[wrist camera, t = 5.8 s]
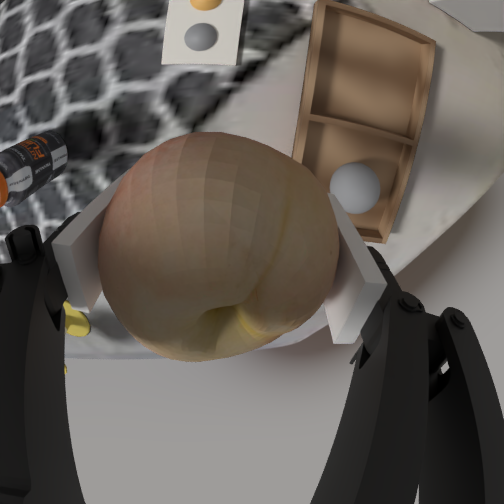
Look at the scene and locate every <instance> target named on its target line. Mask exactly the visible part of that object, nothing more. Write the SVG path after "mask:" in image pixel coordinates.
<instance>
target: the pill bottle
mask: <svg viewBox="0 0 504 504" xmlns="http://www.w3.org/2000/svg"><path fill="white" fill-rule="evenodd" d="M67 156H68V155H67V148H66V145H65V142H64V141H63V139H62V138H61V137H60V136H59V135H58V134H57V133H55V132H52V131H47V132H44V133H41V134H39V135H36V136H34V137H32V138H29V139H27V140H25V141H22V142H20V143H18V144H16V145H14V146H12V147H10V148H8V149H5V150H4V151H2V152H0V207H2V206H3V205H4V206H7V207H13V206H16V205H18V204H20V203H21V202H22V201H23V200H25V199H26V198H27V197H29V196H30V195H31V194H33V193H34V192H36V191H37V190H38V189H40V188H41V187H42V186H44V185H45V184H47V183H48V182H50V181H51V180H53V179H55V178H56V177H57V176H59V175H60V174H61V173H62V172H63V170H64V169H65V167H66V164H67Z"/></svg>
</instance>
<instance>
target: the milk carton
mask: <svg viewBox="0 0 504 504" xmlns="http://www.w3.org/2000/svg"><path fill="white" fill-rule="evenodd" d="M429 3H431V4H433V5H434V6H436V7H438V8H439V9H441V10H442V11H444V12H446V13H447V14H449V15H450V16H452V17H453V18H455V19H456V20H458V21H459V22H461V23H462V24H464V25H465V26H466V27H468V28H469V29H471V30H472V31H473V32H504V0H429Z"/></svg>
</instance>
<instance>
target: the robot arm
mask: <svg viewBox="0 0 504 504" xmlns="http://www.w3.org/2000/svg"><path fill="white" fill-rule="evenodd" d="M3 1H4V0H0V3H1V2H3ZM129 170H130V169H129ZM129 170H127V171H126V172H125V173H124V174H123V175H121V176H120V177H119V178H118V179H117V180H116V181H114V182H113V183H112V184H111V185H110V186H109V187H107V188H106V189H105V190H104V191H103V192H102V193H101V194H100V195H99V196H98V197H96V198H95V199H94V200H93V201H92V202H91V203H90V204H89V205H88V206H87V207H86V208H85V209H84V210H83V211H82V212H77V213H75V214H74V215H72V216H70V217H68V218H67V219H66V220H65V221H64V222H63V223H62V225H61V226H59V227H58V228H57V229H56V231H54V232H53V233H52V234H51V235H50V237H49V238H48V239H47V240H46V241H45V242H44V243H42V239H41V235H40V231H39V228H38V227H37V226H35V225H25V226H21V227H18V228H16V229H14V230H13V231H12V232H10V233H9V234H8V235H7V236H6V238H5V241H6V245H7V248H8V251H9V254H10V257H11V259H12V262H11V263H5V264H0V504H86V503H85V501H84V498H83V494H82V491H81V487H80V483H79V479H78V475H77V471H76V466H75V461H74V456H73V451H72V444H71V438H70V431H69V423H68V415H67V404H66V391H65V364H64V346H65V319H66V313H65V309H64V306H63V304H64V302H65V300H66V299H67V297H68V299H69V302H70V305H71V307H72V309H74V310H78V311H82V312H86V313H90V312H91V310H92V308H93V306H94V304H95V302H96V300H97V299H98V297H99V295H100V293H101V291H102V285H101V281H100V276H99V270H98V248H99V236H100V232H101V229H102V225H103V222H104V217H105V213H106V209H107V206H108V204H109V202H110V201H111V199H112V197H113V195H114V193H115V191H116V189H117V187H118V185H119V183H120V182H121V180H122V178H123V177H124V176H125V175H126V173H127V172H128V171H129ZM327 194H328V196H329V199H330V202H331V205H332V208H333V211H334V214H335V217H336V221H337V226H338V235H339V244H340V248H339V258H338V264H337V270H336V276H335V279H334V282H333V285H332V287H331V289H330V291H329V293H328V295H327V296H326V298H325V300H324V302H323V303H324V307H325V311H326V315H327V318H328V322H329V326H330V330H331V335H332V338H333V343H336V344H340V343H341V344H353V343H354V342H355V340H356V339H357V337H358V335H359V334H360V333H361V336H362V339H363V343H362V344H361V346H360V347H359V349H358V351H357V352H356V353H355V355H354V357H353V358H352V360H351V361H350V364H353V362H354V361H355V360H356V363H355V368H354V372H353V376H352V380H351V384H350V388H349V392H348V396H347V400H346V403H345V407H344V410H343V414H342V417H341V421H340V424H339V427H338V430H337V434H336V437H335V440H334V443H333V446H332V449H331V452H330V455H329V457H328V460H327V463H326V466H325V469H324V471H323V474H322V476H321V479H320V481H319V484H318V486H317V489H316V491H315V493H314V496H313V498H312V500H311V503H310V504H414V502H415V498H416V493H417V489H418V484H419V504H504V419H503V415H502V411H501V407H500V403H499V399H498V396H497V392H496V389H495V386H494V383H493V380H492V377H491V373H490V371H489V368H488V365H487V362H486V359H485V357H484V354H483V351H482V349H481V346H480V344H479V341H478V339H477V337H476V334H475V332H474V330H473V327H472V325H471V323H470V321H469V319H468V318H467V317H466V316H465V315H464V313H463V312H462V311H460V310H458V309H455V308H453V307H448V308H446V309H445V310H444V311H443V313H442V314H441V315H440V317H439V316H435V315H432V314H429V313H426V312H425V309H424V306H423V304H422V303H421V302H420V300H419V299H417V298H416V297H415V296H413V295H412V294H410V293H408V292H404V291H402V290H401V288H400V286H399V285H398V283H397V281H396V279H395V277H394V276H393V274H392V272H391V271H390V269H389V267H388V265H387V264H386V262H385V260H384V259H383V257H382V255H381V254H380V253H379V252H378V251H377V250H375V249H374V248H373V247H371V246H366V245H365V243H364V241H363V240H362V238H361V236H360V234H359V233H358V231H357V230H356V228H355V226H354V225H353V223H352V221H351V220H350V218H349V216H348V215H347V213H346V212H345V210H344V209H343V207H342V205H341V204H340V202H339V201H338V199H337V198H336V196H335V195H334V194H332V193H327ZM447 361H448V365H449V369H448V370H447V371H446V372H445V373H444V374H443V373H442V371H441V367H442V366H443V365H444V364H445V363H446V362H447Z"/></svg>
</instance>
